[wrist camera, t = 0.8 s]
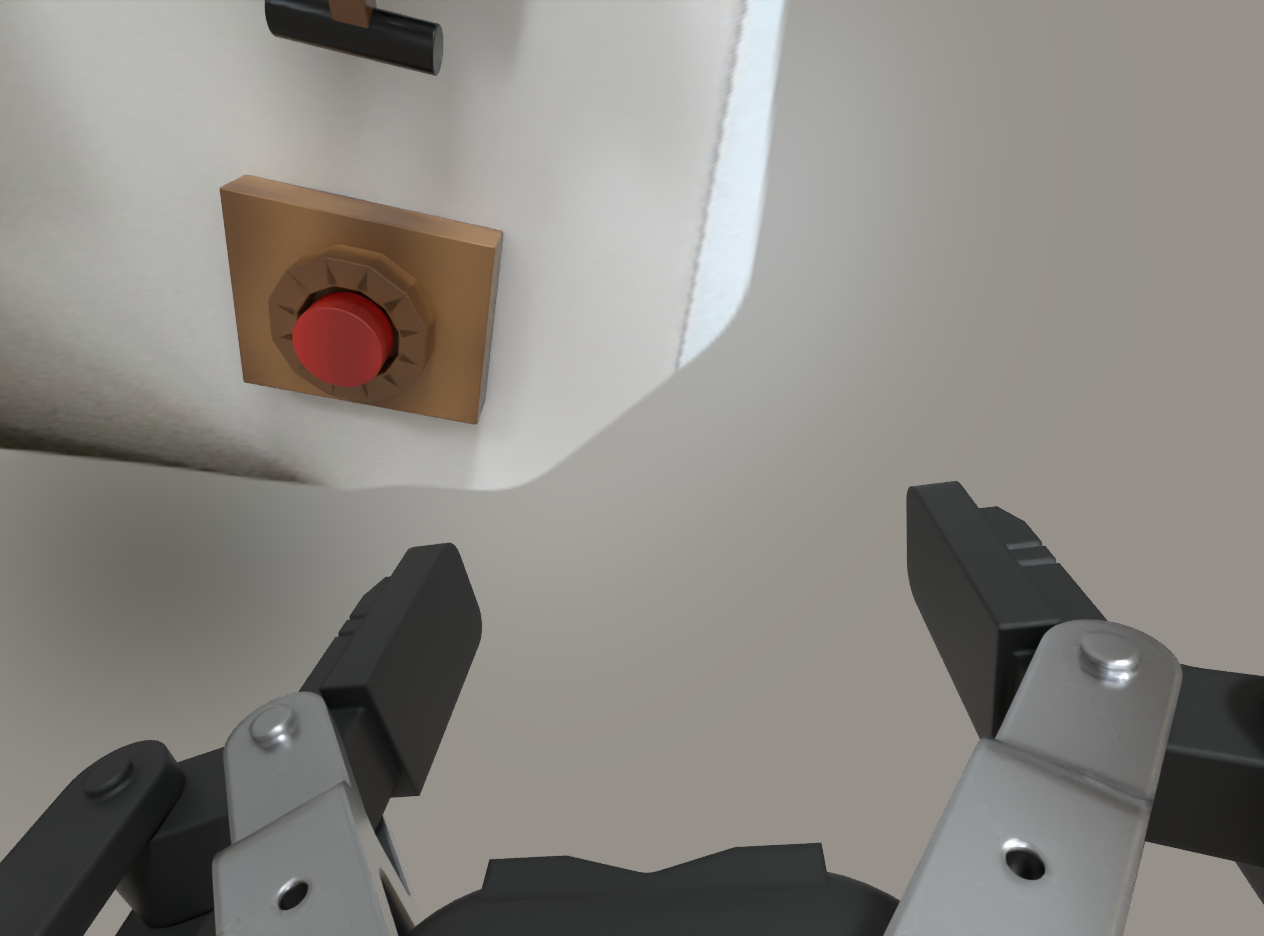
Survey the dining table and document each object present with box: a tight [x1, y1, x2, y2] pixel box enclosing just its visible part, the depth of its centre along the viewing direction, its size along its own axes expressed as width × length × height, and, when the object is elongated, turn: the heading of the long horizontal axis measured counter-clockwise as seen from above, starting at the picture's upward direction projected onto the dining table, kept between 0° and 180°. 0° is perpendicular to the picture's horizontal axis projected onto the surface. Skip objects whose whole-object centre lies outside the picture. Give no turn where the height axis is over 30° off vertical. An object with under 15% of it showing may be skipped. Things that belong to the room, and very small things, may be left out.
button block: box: [220, 175, 503, 424], centre depth 31 cm, size 11×9×4 cm
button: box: [292, 291, 394, 387], centre depth 29 cm, size 4×4×2 cm
